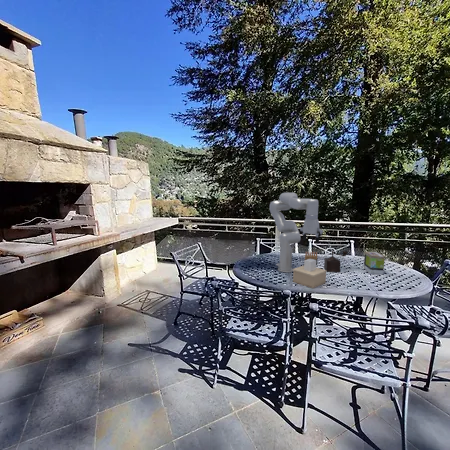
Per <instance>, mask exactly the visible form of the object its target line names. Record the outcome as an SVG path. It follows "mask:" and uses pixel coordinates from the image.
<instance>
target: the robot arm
mask: <svg viewBox="0 0 450 450" xmlns="http://www.w3.org/2000/svg"><path fill="white" fill-rule="evenodd" d="M278 199H279V200H273V201H270V203H269V212H270V215H271V216H272V218H273V219H274V223H275V226H276V228H277V231H279V232H280V234H279V235H278V240H279V262H278V263H276V264H275V265H276V266H277V271H278V272H282V273H292V272H293V269H294V268H293V267H292V266H293V265H292V263H293V248H292V246H291V244H293V245H294V244H298V243H300V242H301V237H302V241H303V242H304V241H307V234H309V235H315V244H319V242H320V237H321V236H322V235H323V233H324V231H323V229H320V221H319V219H318V217H319V215H318V214H319V200H318V199H317V198H316V199H314V198H312V199H311V198H299V197H298V194H297V193H295V192H282V193H281V194H280V195H279V198H278ZM290 209H294V210H305V211H306V212H305V215H304V217H305V219H304V221H303V226H302V227H300V228H298V226H297V224H296V222H295V221H293V220H287V219H286V218H285V215H284V214H283V213H282V212H281V211H288V210H290ZM301 234H302V236H301Z"/></svg>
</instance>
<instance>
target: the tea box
mask: <svg viewBox="0 0 450 450" xmlns="http://www.w3.org/2000/svg"><path fill="white" fill-rule="evenodd" d="M385 259H386V256H385V255H383V254H381V253H380V252H377V251H364V259H363V269H364V270H365V271H366V272H367V273H368V274H371V275H382V276H383V275H384V270H385V269H384V268H385V261H386V260H385Z"/></svg>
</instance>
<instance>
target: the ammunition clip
mask: <svg viewBox="0 0 450 450" xmlns="http://www.w3.org/2000/svg"><path fill="white" fill-rule="evenodd" d="M307 259H314V260H316V266H318V252H317V251H316V252H315V251H312V252H311V251H310V252H309V251H305V255H304V261H305V260H307Z"/></svg>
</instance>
